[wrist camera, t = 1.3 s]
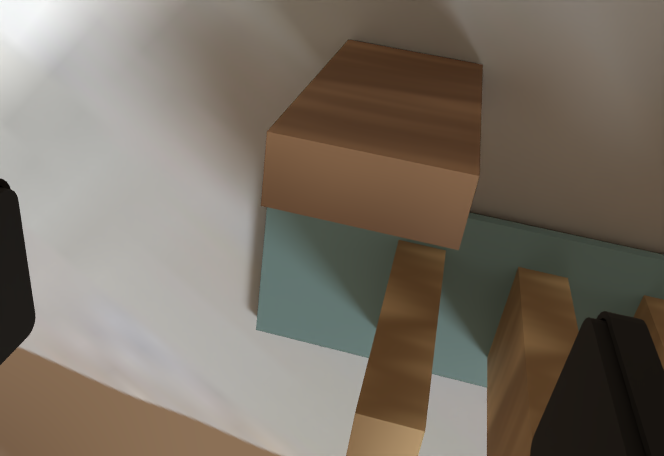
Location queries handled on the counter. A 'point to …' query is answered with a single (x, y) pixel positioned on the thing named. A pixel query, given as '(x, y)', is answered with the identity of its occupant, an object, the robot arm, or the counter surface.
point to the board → (457, 285)
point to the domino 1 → (381, 144)
